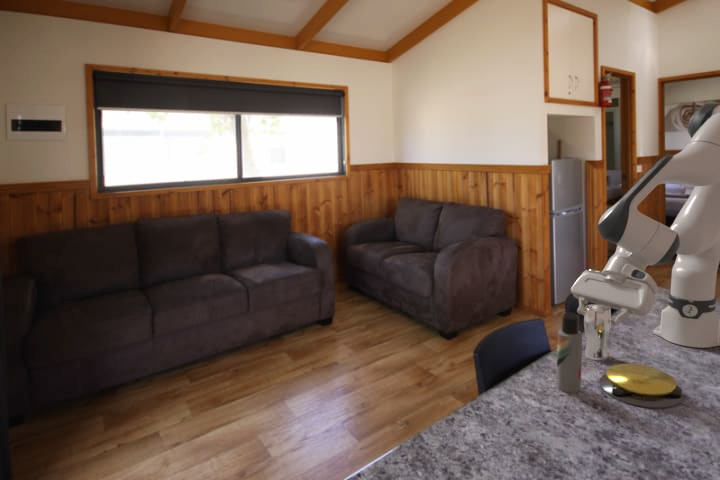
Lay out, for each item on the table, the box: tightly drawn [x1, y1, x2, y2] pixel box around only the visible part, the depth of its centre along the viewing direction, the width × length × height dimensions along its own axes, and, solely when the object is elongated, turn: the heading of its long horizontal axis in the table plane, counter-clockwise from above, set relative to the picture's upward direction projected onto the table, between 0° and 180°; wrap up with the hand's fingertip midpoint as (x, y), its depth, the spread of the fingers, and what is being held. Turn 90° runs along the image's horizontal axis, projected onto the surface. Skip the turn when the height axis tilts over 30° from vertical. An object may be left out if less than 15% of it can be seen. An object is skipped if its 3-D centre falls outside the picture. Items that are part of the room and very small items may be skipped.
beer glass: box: [583, 303, 612, 361], centre depth 135 cm, size 7×7×15 cm
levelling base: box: [599, 363, 684, 410], centre depth 117 cm, size 18×18×3 cm
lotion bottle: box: [556, 312, 583, 394], centre depth 118 cm, size 6×6×20 cm
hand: (596, 318), depth 120 cm, fingers open, 8 cm apart
